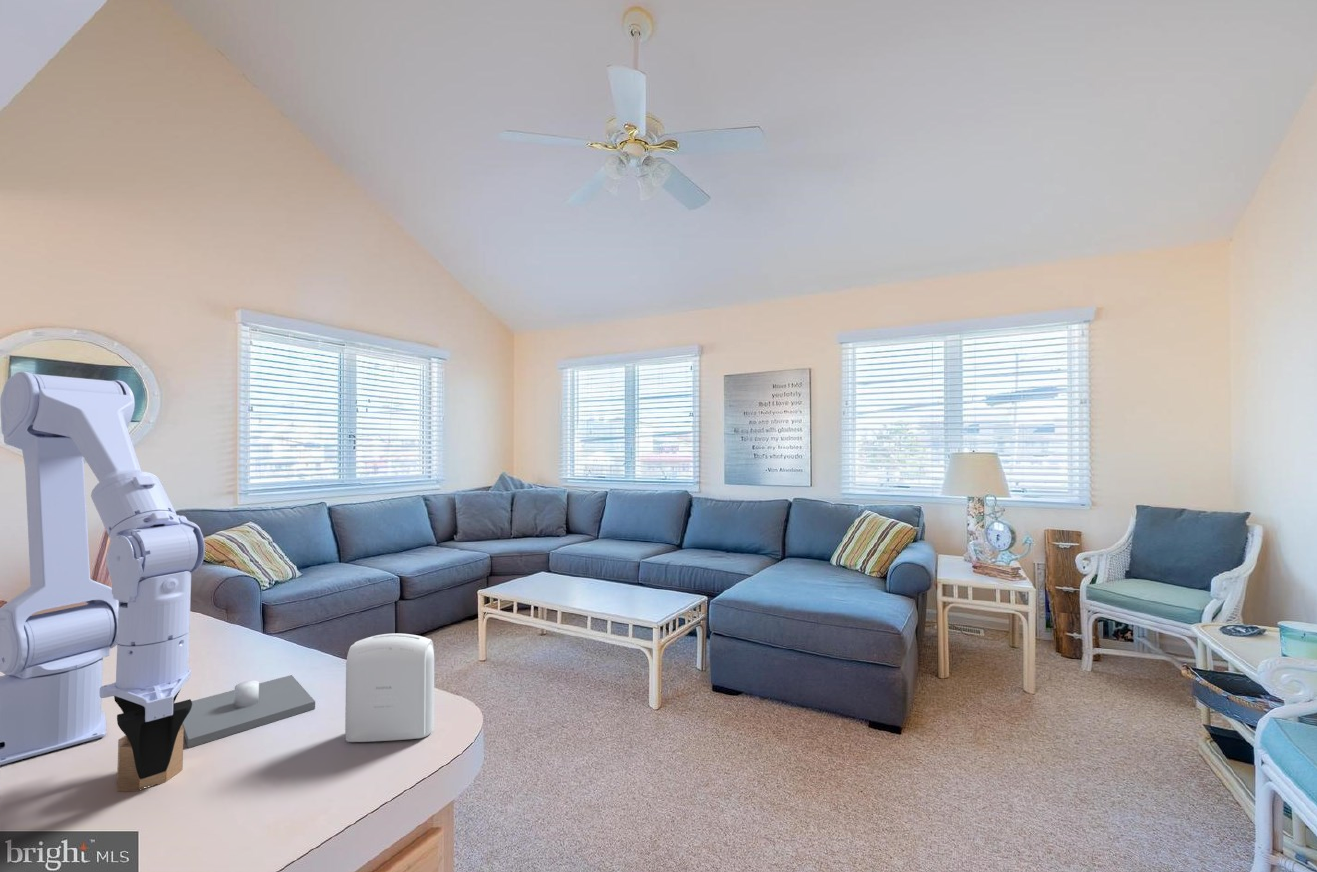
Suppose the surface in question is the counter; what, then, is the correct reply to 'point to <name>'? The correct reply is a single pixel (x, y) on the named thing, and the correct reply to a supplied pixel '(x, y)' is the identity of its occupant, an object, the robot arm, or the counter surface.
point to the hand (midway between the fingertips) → (150, 762)
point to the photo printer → (389, 688)
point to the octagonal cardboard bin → (128, 772)
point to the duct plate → (245, 709)
